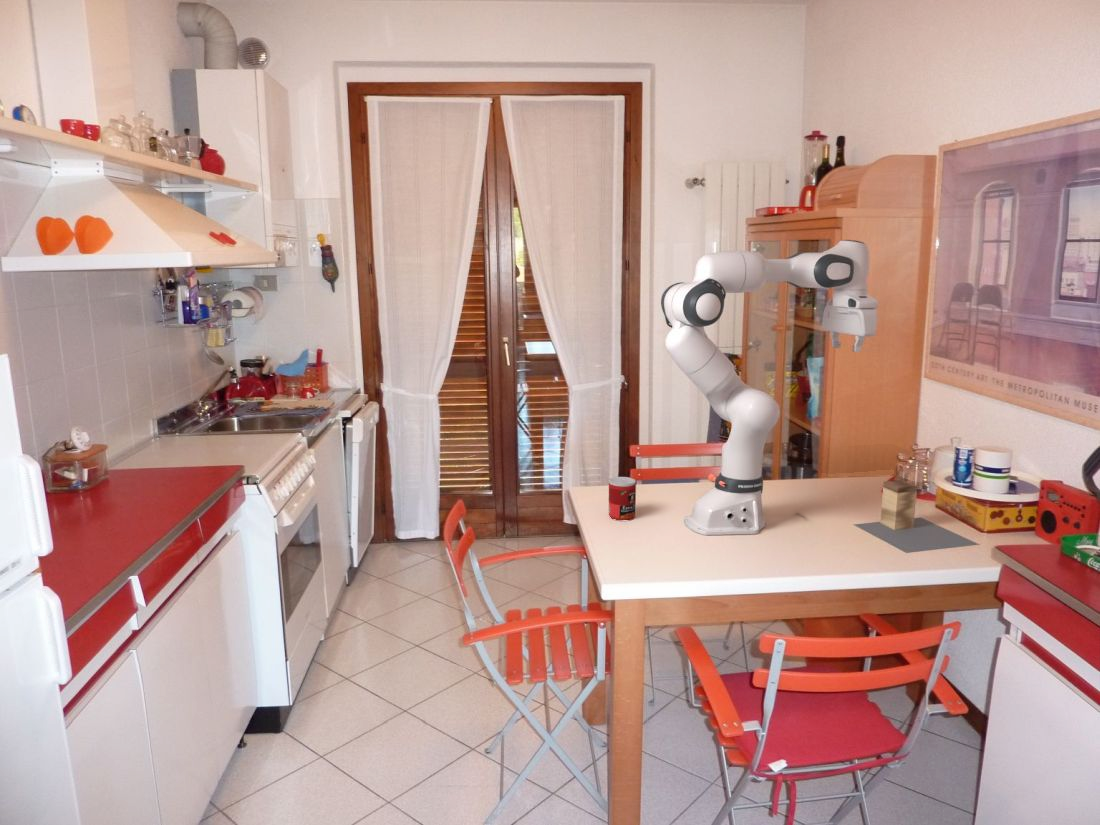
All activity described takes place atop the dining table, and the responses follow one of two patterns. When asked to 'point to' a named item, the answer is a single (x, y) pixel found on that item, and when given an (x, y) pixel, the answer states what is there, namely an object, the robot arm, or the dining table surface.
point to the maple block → (898, 504)
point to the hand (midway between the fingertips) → (846, 349)
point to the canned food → (622, 498)
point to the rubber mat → (917, 536)
